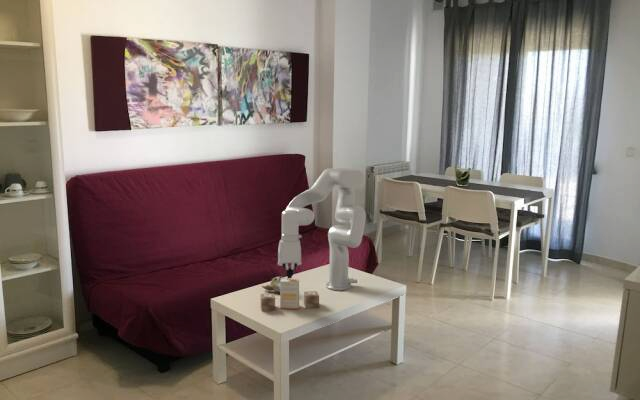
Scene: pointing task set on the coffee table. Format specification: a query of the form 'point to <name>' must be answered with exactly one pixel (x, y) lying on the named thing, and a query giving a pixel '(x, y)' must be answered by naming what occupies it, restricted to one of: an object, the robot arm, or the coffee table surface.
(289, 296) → the supplement box
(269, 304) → the walnut block
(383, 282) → the coffee table surface
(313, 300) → the walnut block
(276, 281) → the ceramic sculpture
